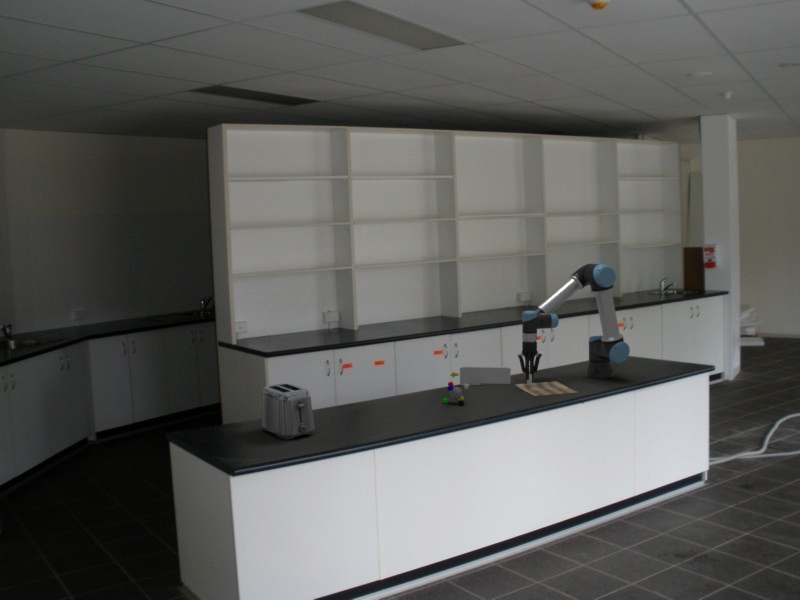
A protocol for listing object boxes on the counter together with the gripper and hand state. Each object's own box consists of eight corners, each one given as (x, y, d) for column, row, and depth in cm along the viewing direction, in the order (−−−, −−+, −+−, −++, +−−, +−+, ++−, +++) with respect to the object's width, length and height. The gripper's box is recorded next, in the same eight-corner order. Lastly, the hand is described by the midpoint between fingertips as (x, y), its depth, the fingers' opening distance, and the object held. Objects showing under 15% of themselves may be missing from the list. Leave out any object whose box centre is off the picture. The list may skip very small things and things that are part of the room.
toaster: (284, 443, 308) (283, 396, 306) (253, 427, 332) (251, 384, 330) (321, 435, 317) (319, 390, 315) (288, 421, 341) (286, 379, 339)
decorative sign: (510, 385, 409) (510, 366, 408) (510, 386, 406) (510, 367, 405) (450, 383, 415) (450, 365, 414) (450, 385, 411) (449, 367, 410)
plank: (557, 383, 406) (557, 381, 406) (569, 390, 393) (569, 388, 393) (515, 386, 401) (515, 384, 400) (526, 393, 387) (526, 391, 387)
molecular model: (472, 402, 372) (472, 382, 371) (459, 407, 361) (459, 387, 360) (452, 399, 378) (452, 380, 377) (439, 404, 368) (438, 384, 367)
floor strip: (569, 390, 393) (569, 388, 392) (578, 394, 383) (578, 392, 383) (526, 393, 387) (526, 391, 387) (534, 398, 377) (534, 395, 377)
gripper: (538, 339, 400) (538, 383, 402) (515, 340, 397) (514, 385, 399) (544, 341, 393) (544, 386, 395) (520, 342, 389) (520, 388, 392)
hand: (529, 385), depth 397 cm, fingers closed
